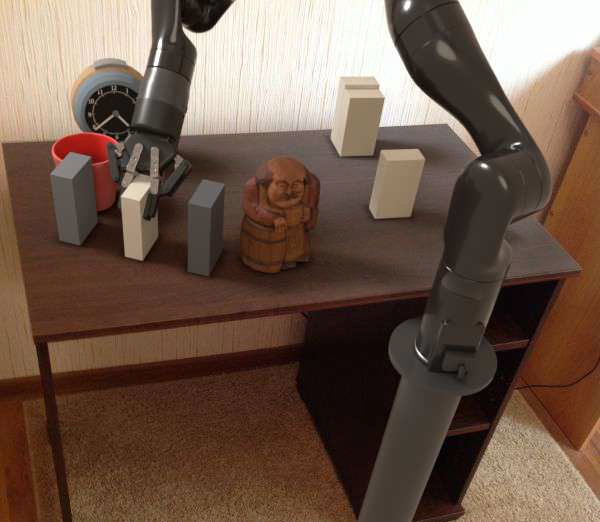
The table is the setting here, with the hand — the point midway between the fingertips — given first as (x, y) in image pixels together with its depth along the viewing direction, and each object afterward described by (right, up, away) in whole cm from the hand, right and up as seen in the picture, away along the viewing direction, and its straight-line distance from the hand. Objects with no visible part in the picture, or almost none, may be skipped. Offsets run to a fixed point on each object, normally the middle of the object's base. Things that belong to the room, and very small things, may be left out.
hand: (135, 216), depth 116 cm
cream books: (+38, +15, +30) cm, 51 cm away
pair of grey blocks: (0, -3, +7) cm, 7 cm away
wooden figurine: (+21, -5, +8) cm, 24 cm away
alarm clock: (-9, +17, +24) cm, 31 cm away
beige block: (0, -3, +7) cm, 7 cm away
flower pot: (-11, +6, +14) cm, 18 cm away
